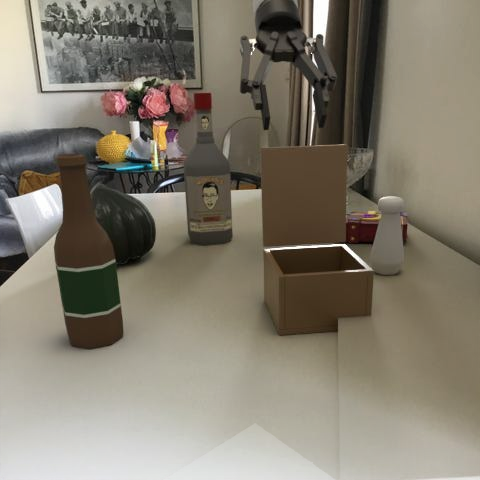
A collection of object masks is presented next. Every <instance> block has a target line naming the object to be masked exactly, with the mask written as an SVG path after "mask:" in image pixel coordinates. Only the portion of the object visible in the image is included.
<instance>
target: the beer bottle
mask: <svg viewBox="0 0 480 480" xmlns="http://www.w3.org/2000/svg"><path fill="white" fill-rule="evenodd" d="M55 165H56V166H57V168H58V172H59V181H60V182H59V183H60V194H61V206H62V221H61V222H62V223H61V224H60V226H59V229H58V231H57V232H56V235H55V239H54V244H53V252H54V263H55V270H56V275H57V281H58V287H59V295H60V300H61V306H62V313H63V317H64V318H63V320H64V325H65V330H66V333H67V337H68V341H69V343H70V345H71V346H72V347H76V348H81V349H87V350H92V349H97V348H102V347H107V346H108V347H109V346H112V345H113V344H115V343H116V342H118V340H120V339H122V338H123V336H124V335H125V334H124V333H125V332H124V320H123V311H122V304H121V303H122V302H121V293H120V287H119V278H118V270H117V264H116V260H115V254H114V249H113V245H112V243H111V241H110V239H109V237H108V235H107V233H106V232H105V230H104V229H103V228H102V227H101V225H100V224H99V223H98V222H97V219H96V216H95V213H94V209H93V205H92V199H91V194H92V193H91V188H90V185H89V180H88V174H87V169H86V166H87V165H88V161H87V159H86V156H85V155H83V154H81V153H67V154H66V153H65V154H59V155H58V156H56V161H55Z"/></svg>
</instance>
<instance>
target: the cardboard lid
mask: <svg viewBox="0 0 480 480" xmlns="http://www.w3.org/2000/svg"><path fill="white" fill-rule="evenodd" d="M259 149H260V150H259V153H260V185H261V186H260V187H261V190H260V191H261V221H262V222H261V224H262V226H261V227H262V247H263V248H269V247H284V246H285V247H287V246H302V245H320V244H335V243H337V244H339V243H346V242H347V241H346V211H347V188H348V187H347V186H348V183H347V181H348V144H347V143H344V144H343V143H342V144H320V145H319V144H318V145H298V146H297V145H296V146H272V147H260V148H259Z"/></svg>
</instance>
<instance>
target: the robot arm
mask: <svg viewBox="0 0 480 480" xmlns="http://www.w3.org/2000/svg"><path fill="white" fill-rule="evenodd" d="M251 5H252V11H253V19H254V24H255V33H256V35H255V38H249V37H248V36H247V35H241V36H240V42H239V52H240V56H241V58H242V60H241V69H240V81H239V93H240V94H243V95H245V94H247V93H248V94H250V99H251V100H252V104H253V109H254V110H255V111H260V115H261V120H262V128H263V129H262V130H263V131H269V130H270V129H269V128H270V123H271V112H270V106H269V99H268V91H267V87H266V84H265V80H266V78H267V76H268V74H269V71H270V69H271V68H272V65H273V63H281V62H285V63H291V64H292V65H293V67H294V68H297V69H298V70H299V71H300V73H301V74H302V75H303V76H304V78H305V79H306V81H307V82H308V83H309V85H310V86H311V88H313V93H312V101H313V105H314V111H315V116H316V120H317V126H318V129H324V128H325V124H326V120H327V116H328V114H327V108H328V106H329V102H330V94H329V92H333V91H334V90H335V87H336V84H337V80H338V75H337V72H336V70H335V67H334V65H333V63H332V61H331V59H330V57H329V54H328V52H327V50H326V48H325V45H324V35H323V34H322V33H317V34H316V36H315V37H310V36H309V37H308V36H307V35H306V33H305V32H304V30H303V25H302V19H301V15H300V11H299V5H298V0H251ZM306 47H307V48H308V49H309V51H310V54H312V56H313V59H314V61H313V60H312V59H311V58H310V56H309V54H308V53H307V52H306V51H307V50H306ZM255 48H256V50H258V51H259V52H260V53H261V54H262V55H263V56H262V58H261V60H260V63H259V64H258V68H257V69H256V72H255V75H254V77H253V79H249V78H250V77H249V76H250V63H251V56H252V54H253V53H254V51H255Z"/></svg>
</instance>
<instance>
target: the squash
mask: <svg viewBox="0 0 480 480" xmlns="http://www.w3.org/2000/svg"><path fill="white" fill-rule="evenodd" d="M90 194H91V199H92V205H93V209H94V213H95V216H96V219H97V222H98V223H99V224H100V225H101V227H102V228H103V229H104V230H105V232H106V233H107V235H108V237H109V239H110V241H111V243H112V245H113V249H114V254H115V260H116V265H125V264H126V263H127V262H129V260H130V259H133V260H134V259H137V258H142V257H143V256H145V255H147V254H148V253H149V252H151V250H152V249H153V248H154V245H155V244H156V243H155V242H156V239H157V228H156V222H155V219H154V217H153V215H152V213H151V212H150V210H149V208H148V207H147V206H146V205H145V204H144V203H143V202H142V201H141V200H140V199H138V198H136V197H134V196H133V195H131V194H128V193H125V192H122V191H119V190H118V189H114V188H110V187H107V186H106V187H105V186H96V187H95V188H94V190H93V191H92V192H91V193H90Z"/></svg>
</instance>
